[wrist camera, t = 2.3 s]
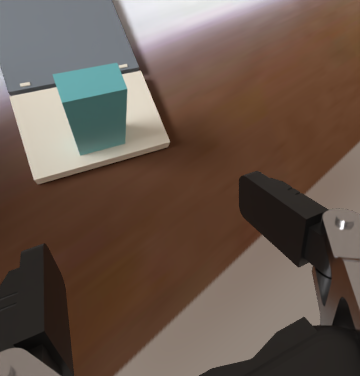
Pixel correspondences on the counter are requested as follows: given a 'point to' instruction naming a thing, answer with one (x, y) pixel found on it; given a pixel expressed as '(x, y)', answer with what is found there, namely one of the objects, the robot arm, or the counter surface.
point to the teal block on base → (87, 121)
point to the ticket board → (59, 41)
